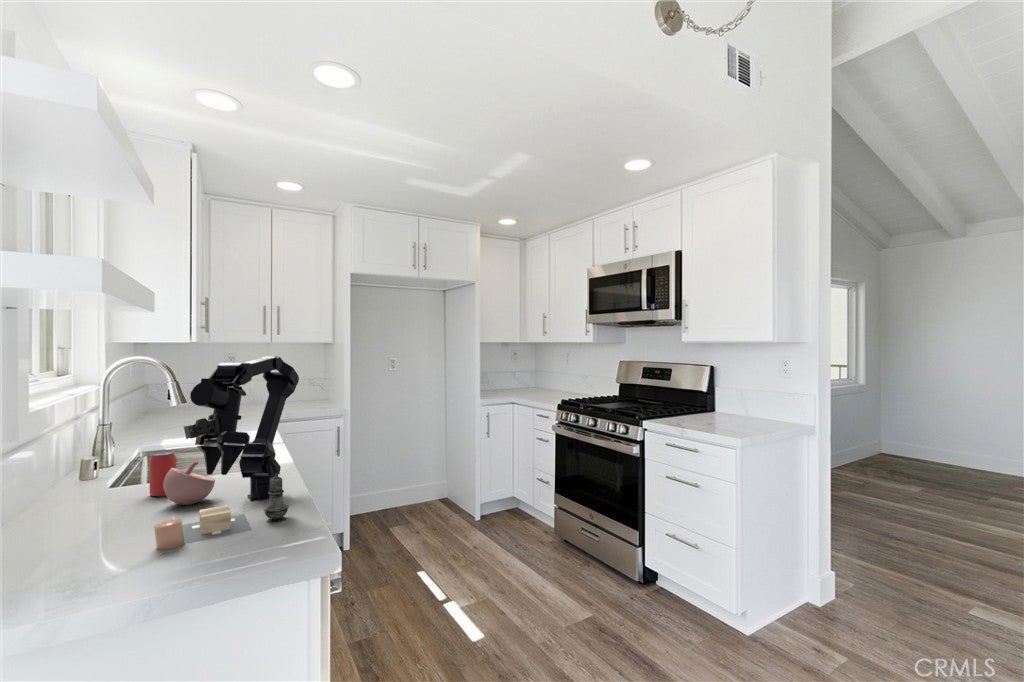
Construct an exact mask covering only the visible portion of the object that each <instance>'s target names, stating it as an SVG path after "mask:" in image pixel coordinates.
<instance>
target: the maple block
mask: <svg viewBox="0 0 1024 682" xmlns="http://www.w3.org/2000/svg"><path fill="white" fill-rule="evenodd" d="M198 511H199V522H200V531H201V535H202V534H207V533H212V532H218V531H223V530H228V529H231V516H232V514H231V513H232V512H231V508H230V507H229V505H228V504H227V505H222V506H221V505H220V506H215V507H209V508H204V509H199V510H198Z"/></svg>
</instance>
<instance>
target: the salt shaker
mask: <svg viewBox="0 0 1024 682" xmlns="http://www.w3.org/2000/svg"><path fill="white" fill-rule="evenodd" d="M284 493H285V490H284V489H283V478H282V477H280V476H279V475H278V476H277V474H275V477H273V478H271V479H270V491H269V492H268V494H270V498H269V503H268V505H266V506H264V507H263V511H264V514H265V516H266V517H267V518H268V519H267V520H266V523H270V524H277V523H281V522H284V521H286V520H287V517H286V514H287V513H288V511H289V507H290V504H289V503H285V501H284V495H283V494H284Z"/></svg>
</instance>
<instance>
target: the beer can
mask: <svg viewBox="0 0 1024 682" xmlns="http://www.w3.org/2000/svg"><path fill="white" fill-rule="evenodd" d="M177 466H178V465H177V457H176V454H175V451H174V450H163V451H156V452H153V453H151V456H150V458H149V462H148V467H149V468H148V469H149V470H148V471H149V472H148V473H149V475H148V476H149V481H148V482H149V495H150V496H151V497H154V496H161V497H167V496H166V494H165V491H164V486H163V485H164V479H165V477H166V475H167V473H168V472H169V470H170V469H171V468H177V469H178V467H177Z"/></svg>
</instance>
